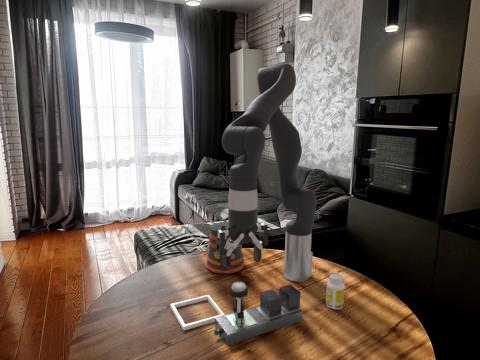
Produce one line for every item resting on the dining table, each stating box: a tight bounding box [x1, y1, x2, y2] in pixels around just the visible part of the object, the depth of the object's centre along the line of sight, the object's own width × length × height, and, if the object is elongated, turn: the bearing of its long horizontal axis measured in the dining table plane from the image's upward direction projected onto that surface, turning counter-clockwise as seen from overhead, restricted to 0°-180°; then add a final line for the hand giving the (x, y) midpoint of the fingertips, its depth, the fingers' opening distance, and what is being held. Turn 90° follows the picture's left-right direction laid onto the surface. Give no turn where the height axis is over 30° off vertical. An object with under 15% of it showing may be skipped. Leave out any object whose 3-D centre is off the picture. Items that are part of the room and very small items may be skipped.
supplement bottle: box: [325, 273, 346, 310], centre depth 105 cm, size 5×5×10 cm
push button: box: [228, 281, 249, 326], centre depth 92 cm, size 7×5×10 cm
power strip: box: [213, 284, 304, 346], centre depth 95 cm, size 27×8×8 cm, turn 117°
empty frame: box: [169, 294, 226, 332], centre depth 101 cm, size 13×13×1 cm
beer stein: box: [206, 219, 245, 275], centre depth 128 cm, size 19×15×20 cm
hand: (242, 264), depth 90 cm, fingers open, 8 cm apart
